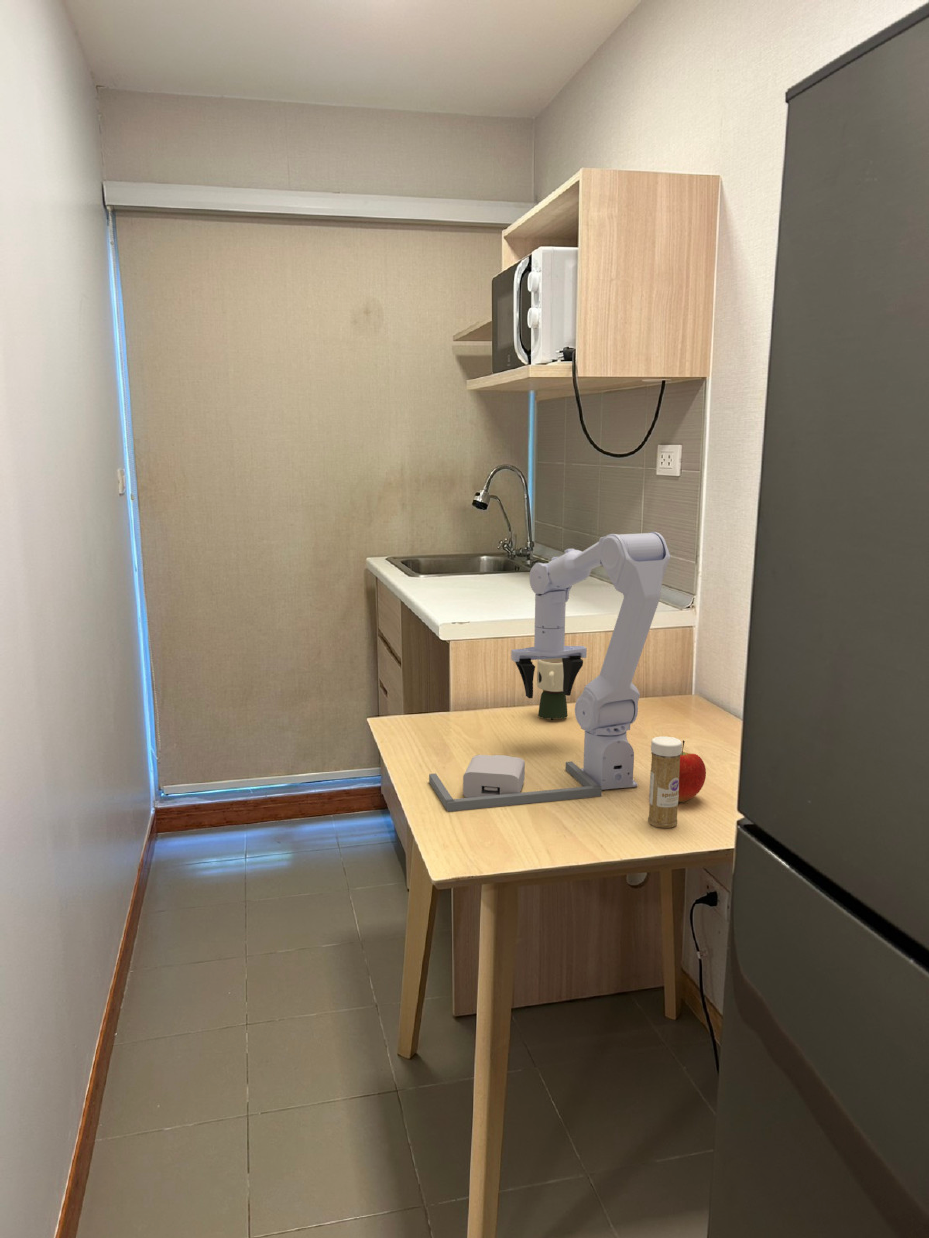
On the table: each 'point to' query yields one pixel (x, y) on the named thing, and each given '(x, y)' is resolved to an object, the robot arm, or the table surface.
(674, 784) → the sprinkles bottle
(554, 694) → the character mug
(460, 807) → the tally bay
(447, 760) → the table surface
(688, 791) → the apple
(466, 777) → the charger
